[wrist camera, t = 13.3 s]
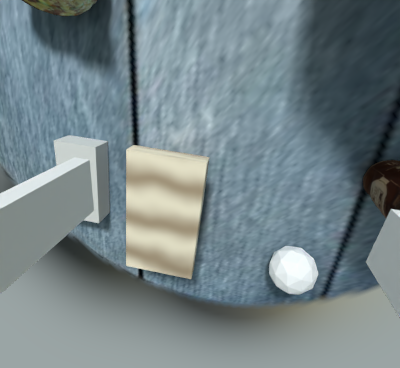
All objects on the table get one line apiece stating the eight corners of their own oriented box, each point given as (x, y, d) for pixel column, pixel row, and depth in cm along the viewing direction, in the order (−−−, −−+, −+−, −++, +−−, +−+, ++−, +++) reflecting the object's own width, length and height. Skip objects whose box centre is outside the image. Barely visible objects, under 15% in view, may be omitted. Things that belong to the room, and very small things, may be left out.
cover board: (133, 145, 37) (126, 149, 34) (209, 157, 36) (207, 162, 33) (132, 256, 45) (126, 265, 42) (193, 268, 44) (191, 279, 41)
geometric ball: (286, 255, 50) (280, 297, 46) (265, 237, 46) (255, 282, 42) (327, 257, 45) (323, 305, 41) (306, 237, 40) (300, 288, 37)
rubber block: (69, 135, 44) (53, 140, 41) (107, 141, 44) (95, 147, 40) (75, 205, 50) (62, 216, 46) (109, 212, 49) (99, 223, 46)
